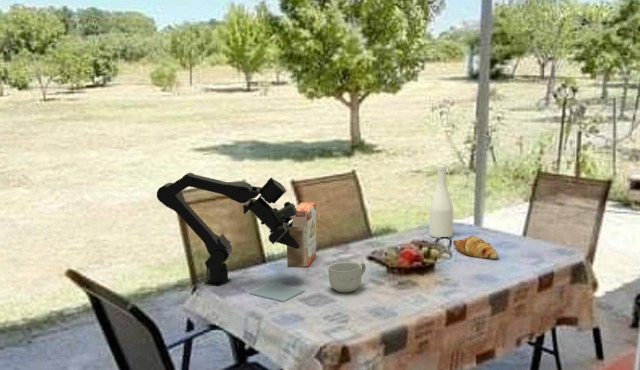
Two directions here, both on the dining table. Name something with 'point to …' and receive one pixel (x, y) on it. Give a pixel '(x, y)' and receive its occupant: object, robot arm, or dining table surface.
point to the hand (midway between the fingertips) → (299, 245)
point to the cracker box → (307, 229)
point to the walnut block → (295, 255)
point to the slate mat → (277, 292)
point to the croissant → (475, 247)
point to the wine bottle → (441, 208)
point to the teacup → (346, 275)
